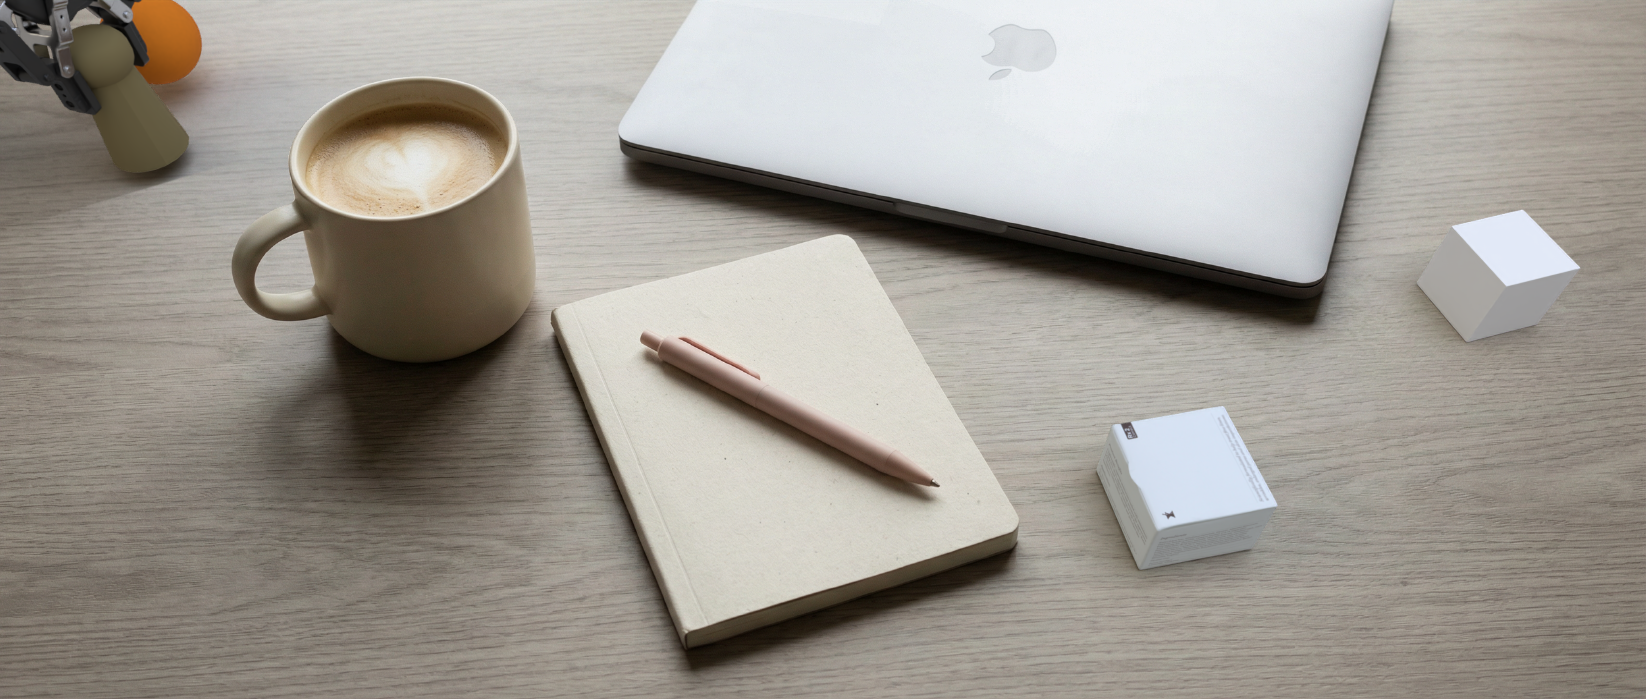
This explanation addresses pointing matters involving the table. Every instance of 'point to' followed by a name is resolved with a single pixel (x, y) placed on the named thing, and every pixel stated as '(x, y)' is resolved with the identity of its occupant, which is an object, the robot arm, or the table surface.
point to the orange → (167, 40)
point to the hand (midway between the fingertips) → (112, 85)
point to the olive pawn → (126, 102)
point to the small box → (1184, 487)
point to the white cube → (1496, 275)
